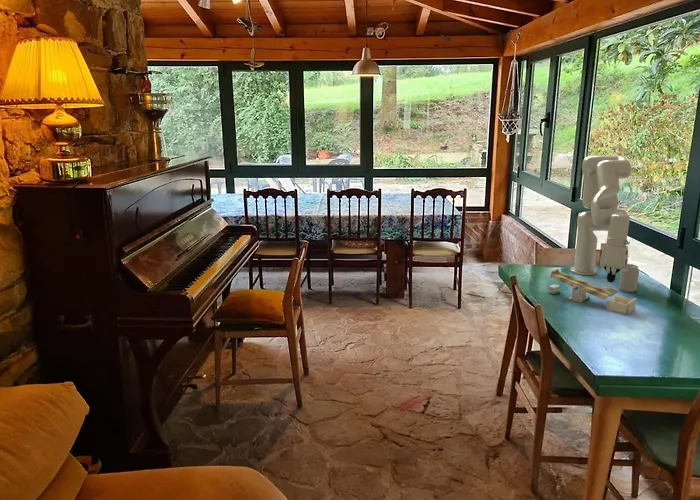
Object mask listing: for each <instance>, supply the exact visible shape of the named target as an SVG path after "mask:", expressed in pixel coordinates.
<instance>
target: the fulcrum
mask: <svg viewBox="0 0 700 500" xmlns="http://www.w3.org/2000/svg"><path fill="white" fill-rule="evenodd" d="M583 281H584V282H586V283H589V282H588V281H585V280H583ZM580 287H581V286H580V285H575V284H573V286H572V289H571V290H572V291H571V295H570V296H568V297H567V300H569V301H572V302H576V303H580V304H582V303H583V302H585V301H587V300H588V299H590V296H589V295H587V292H584V291H582V290H580ZM560 290H561V285H559V284H555V283H553V284H551V285H549V286H548V292H547V293H548V294H552V295H556V294H558V293H560Z"/></svg>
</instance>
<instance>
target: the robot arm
mask: <svg viewBox="0 0 700 500" xmlns="http://www.w3.org/2000/svg"><path fill="white" fill-rule="evenodd" d="M581 170H582V175H583V179H584V180H583V181H584V182H583V193H582V206H583V208H585V209H589V210H590V211H582V212H580V213H579V214H578V216H577V221H576V223H577V237H576V246H575V247H576V248H575V256H574V262H573V263H574V264H573V266H571V267H570V272H571V273H573V274H577V275H581V276H582V275H583V276H595V275H597V273H598V270H597V269H596V268H595V266H596V264H597V262H596V256H597V248H598V237H597V234H595V233H594V232H595V231H599V232H604V231H605V232H607V236H606V237H607V238H606V242H605V243H604V244H603V248H602V251H601V255H600V258H599V259H600V261H599V263H600V264H599V267H601V268H603V269H604V270H605V271H606V273H607V274H606V280H607V281H606V282H607V283H610V284H612V283H613V282H615V280H616V275H617V274H618V273H621V272H625V271H626V266H627V264H629V245H630V243H631V242H630V241H629V240H628V233H629V226H630V219H631V218H630V217H631V216H630V215H629V213H627V211H626V210H625V209H619V208H618V204H619V198H618V193H619V192H620V189H621V188H620V187H621V186H620V181H619V179H622V180H623V179H625V180H626V179H628V178H629V177H630V176H631V174H632V166H631V162H629V160H628V159H627V158H624V157H623V156H621V155H588V156H586V157H584V159H583V160H582V165H581Z"/></svg>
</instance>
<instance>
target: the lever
mask: <svg viewBox="0 0 700 500" xmlns="http://www.w3.org/2000/svg"><path fill="white" fill-rule="evenodd" d="M549 278H551V279H554V280H557V281H559V282H561V283H563V284H566V285H568V286H571V287H573V284H575V285H580V286H581V287H580V290H582V291H584V292H586V294H589V295H591V296H594V297H597V298H599V299H600V300H606V299H608V298H609V297H613V296H615V295H616V294H617V293H618V292H619V290H618V289H615V288H613V287H610V286H608V285H605V286H604V287H602V288H601V287H598V286H595V285H593V284H591V283H589V282H588V283H586V282H587V281H586V282H584V281H585V280H581V279H579V278H576V277H574V276H571V275H569V274H567V273H564V272H562V271H560V269H559V268H556V269H554V270H551V272H550V276H549Z"/></svg>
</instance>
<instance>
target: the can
mask: <svg viewBox="0 0 700 500" xmlns="http://www.w3.org/2000/svg"><path fill="white" fill-rule="evenodd" d="M619 273H620V274H619V282H618V289H619V290H620V291H621V292H622V291H623V292H625V293H634V292H635V291H637V289H638V283H639V276H640V269H639V266H638V265H636V264H631V263H627V266H626V271H625V272H619Z"/></svg>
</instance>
